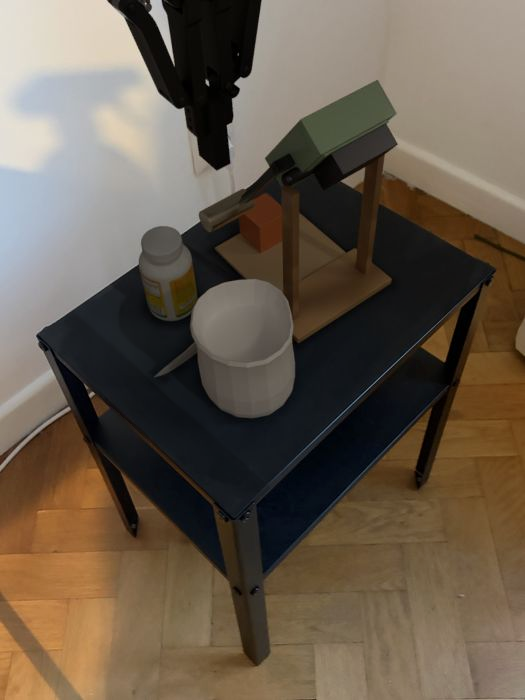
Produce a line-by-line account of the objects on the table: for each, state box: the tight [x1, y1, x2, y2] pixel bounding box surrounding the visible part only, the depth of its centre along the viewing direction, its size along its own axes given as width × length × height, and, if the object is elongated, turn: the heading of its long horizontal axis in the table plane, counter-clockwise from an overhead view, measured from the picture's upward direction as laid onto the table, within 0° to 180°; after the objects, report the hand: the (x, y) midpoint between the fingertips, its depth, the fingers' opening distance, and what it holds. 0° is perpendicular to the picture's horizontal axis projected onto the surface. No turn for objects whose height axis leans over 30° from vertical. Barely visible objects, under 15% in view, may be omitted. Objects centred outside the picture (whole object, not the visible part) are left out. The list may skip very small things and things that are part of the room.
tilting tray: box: [198, 79, 399, 233], centre depth 65 cm, size 15×16×5 cm
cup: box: [189, 279, 296, 419], centre depth 68 cm, size 10×10×10 cm
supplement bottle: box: [138, 225, 199, 322], centre depth 75 cm, size 5×5×10 cm
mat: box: [214, 212, 347, 292], centre depth 82 cm, size 10×11×1 cm
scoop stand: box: [280, 154, 393, 344], centre depth 71 cm, size 6×13×18 cm, turn 127°
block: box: [238, 192, 282, 253], centre depth 82 cm, size 4×4×4 cm
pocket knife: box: [153, 341, 198, 378], centre depth 74 cm, size 14×1×2 cm, turn 131°
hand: (214, 159), depth 63 cm, fingers closed
